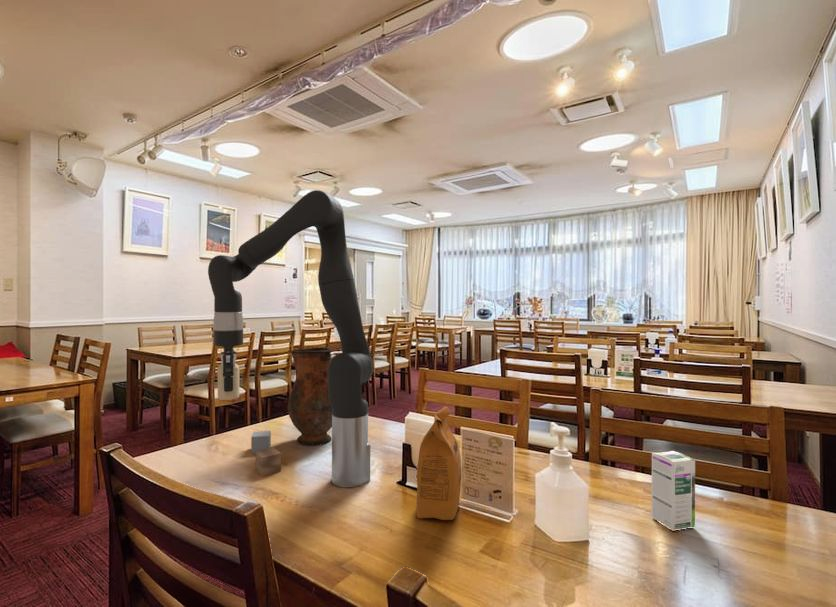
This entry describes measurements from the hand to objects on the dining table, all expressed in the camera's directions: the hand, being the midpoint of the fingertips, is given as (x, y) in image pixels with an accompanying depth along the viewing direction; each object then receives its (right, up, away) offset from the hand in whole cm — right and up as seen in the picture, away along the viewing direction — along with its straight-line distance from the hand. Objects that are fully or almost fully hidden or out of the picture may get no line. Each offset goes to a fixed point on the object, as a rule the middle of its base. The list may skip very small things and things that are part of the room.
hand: (228, 388), depth 117 cm
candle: (0, -3, 0) cm, 3 cm away
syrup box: (+106, -23, -28) cm, 112 cm away
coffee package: (+58, -23, -23) cm, 66 cm away
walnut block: (+12, -22, -3) cm, 25 cm away
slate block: (+5, -21, +12) cm, 25 cm away
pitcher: (+21, -21, +20) cm, 36 cm away
